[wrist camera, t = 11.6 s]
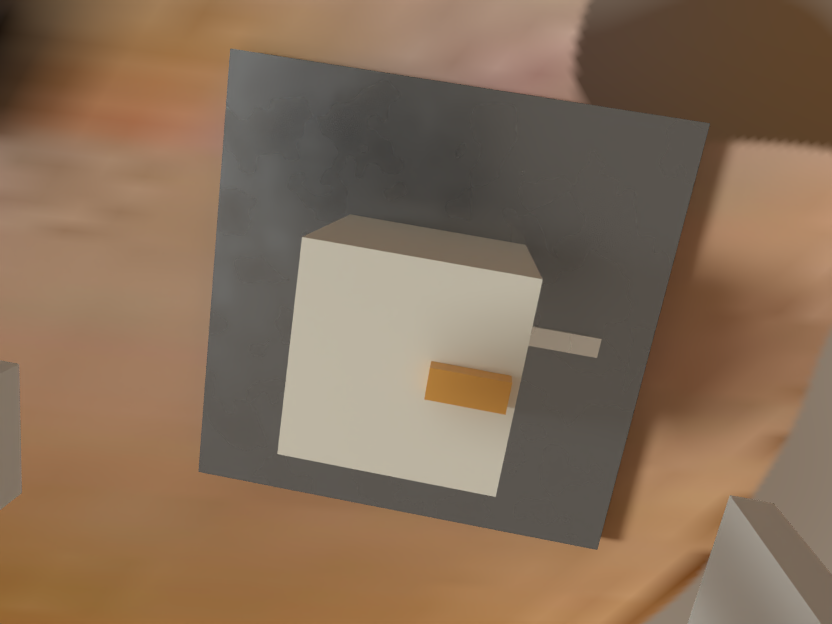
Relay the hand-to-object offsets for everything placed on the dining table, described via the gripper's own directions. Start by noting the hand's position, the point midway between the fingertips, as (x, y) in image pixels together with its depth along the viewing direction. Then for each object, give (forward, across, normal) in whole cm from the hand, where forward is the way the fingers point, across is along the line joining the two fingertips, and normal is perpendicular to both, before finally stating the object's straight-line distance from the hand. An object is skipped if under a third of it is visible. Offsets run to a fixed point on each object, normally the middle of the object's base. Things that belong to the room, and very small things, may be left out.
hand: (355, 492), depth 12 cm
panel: (+16, 0, -1) cm, 16 cm away
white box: (+14, 0, -1) cm, 15 cm away
